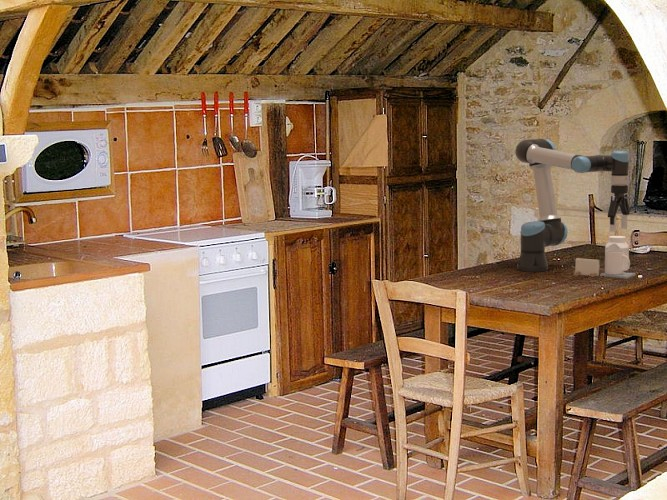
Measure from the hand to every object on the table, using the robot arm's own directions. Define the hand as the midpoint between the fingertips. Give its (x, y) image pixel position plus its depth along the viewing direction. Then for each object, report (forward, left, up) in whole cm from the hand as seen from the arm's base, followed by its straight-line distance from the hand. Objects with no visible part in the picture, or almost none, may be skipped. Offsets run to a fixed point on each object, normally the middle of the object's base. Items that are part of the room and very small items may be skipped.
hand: (618, 230), depth 441 cm
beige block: (-13, -7, -22) cm, 26 cm away
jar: (-11, +27, -22) cm, 37 cm away
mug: (0, 0, -21) cm, 21 cm away
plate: (0, 0, -22) cm, 22 cm away
